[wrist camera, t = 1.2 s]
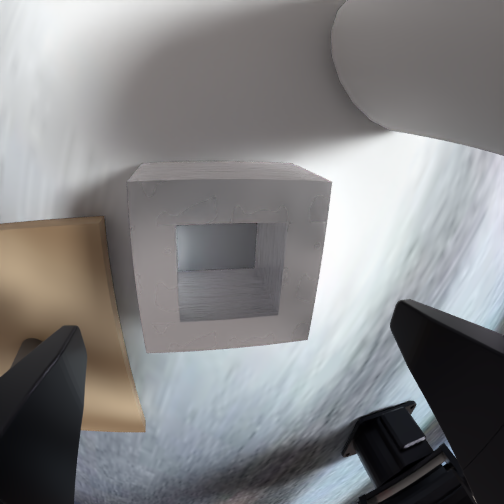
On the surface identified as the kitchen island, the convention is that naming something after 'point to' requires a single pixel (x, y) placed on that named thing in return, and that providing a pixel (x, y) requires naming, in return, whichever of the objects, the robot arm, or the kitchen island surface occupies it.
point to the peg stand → (68, 310)
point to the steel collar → (227, 280)
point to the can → (425, 67)
